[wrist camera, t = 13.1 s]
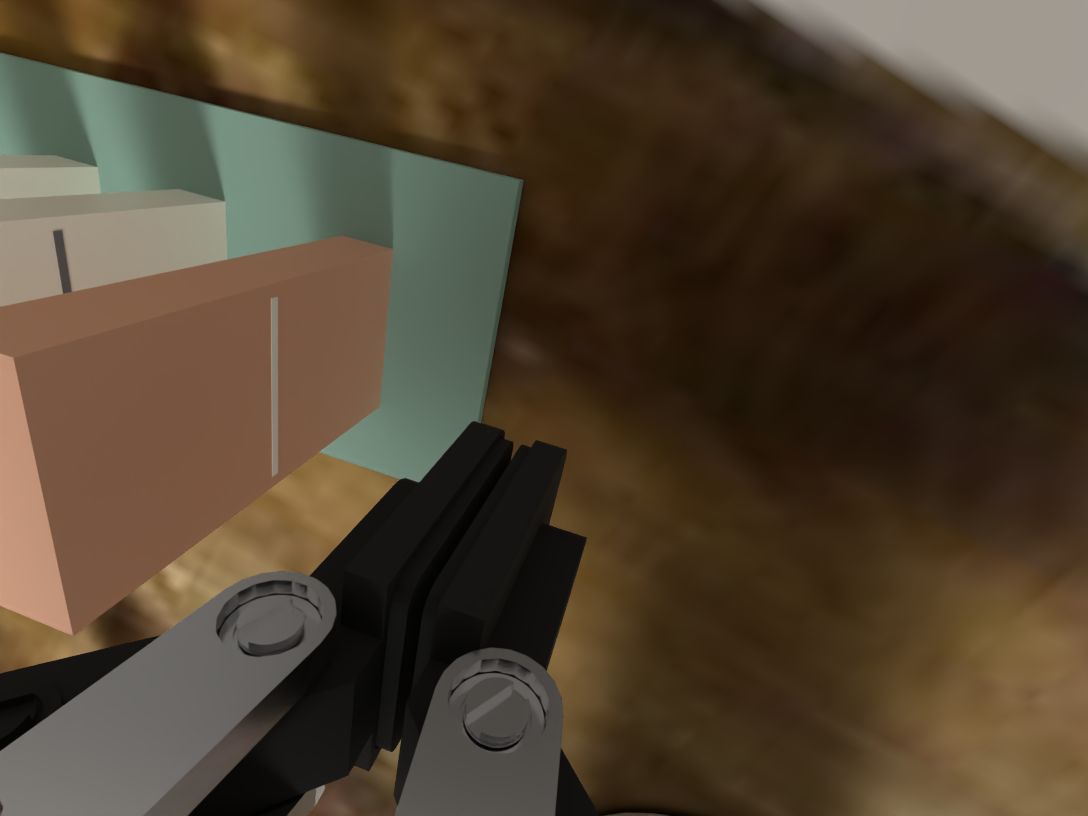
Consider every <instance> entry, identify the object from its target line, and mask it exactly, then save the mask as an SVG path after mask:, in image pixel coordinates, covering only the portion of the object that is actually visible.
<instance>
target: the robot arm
mask: <svg viewBox="0 0 1088 816" xmlns="http://www.w3.org/2000/svg"><path fill="white" fill-rule="evenodd" d="M504 437H505V432H504V430H502V429H498V428H495V427H492V426H489V425H485V424H482V423H479V422H476V421H472V422H471V423H470V424H469V425H468V426H467V428H466V429H465V430H464V431H463V432H462V433H461V435H460V436H459V437H458V438H457V439H456V440H455V441H454V443H453V444H452V445H451V446H450V447H449V448H448V450H447V451H446V452H445V453H444V454H443V455H442V457H441V458H440V459H439V460H438V461H437V462H436V464H435V465H434V466H433V467H432V468H431V469H430V470H429V472H428V473H427V474H426V475H425V476H424V477H423V479H422V480H421V481H420V482H416V481H413V480H410V479H407V478H403V479H400V480H399V481H398V482H397V483H396V484H395V485H394V486H393V487H392V488H391V489H390V490H389V491H388V492H387V493H386V494H385V495H384V496H383V498H382V499H381V500H380V501H379V502H378V503H377V504H376V505H375V506H374V507H373V508H372V509H371V510H370V512H369V513H368V514H367V515H366V516H365V517H364V518H363V519H362V520H361V521H360V522H359V523H358V524H357V526H356V527H355V528H354V529H353V530H352V531H351V532H350V533H349V534H348V535H347V536H346V537H345V538H344V540H343V541H342V542H341V543H340V544H339V545H338V546H337V547H336V548H335V549H334V550H333V551H332V552H331V554H330V555H329V556H328V557H327V558H326V559H325V560H324V561H323V562H322V563H321V564H320V565H319V566H318V567H317V569H316V570H315V571H314V572H313V573H312V574H311V575H310V576H307V575H305V574H302V573H296V572H286V571H278V572H269V573H261V574H258V575H255V576H252V577H249V578H245V579H242V580H241V581H239V582H237V583H235V584H234V585H232V586H230V587H228V588H226V589H225V590H223V591H222V592H221V593H219V594H218V595H216V596H215V597H214V598H212V599H211V600H209V601H208V602H207V603H205V604H204V605H203V606H201V607H200V608H198V609H197V610H196V611H194V612H193V613H191V614H190V615H189V616H187V617H186V618H184V619H183V620H182V621H180V622H179V623H178V624H176V625H175V626H173V627H172V628H171V629H169V630H168V631H166V632H165V633H164V634H162V635H160V636H156V637H151V638H147V639H143V640H139V641H135V642H131V643H126V644H122V645H118V646H114V647H110V648H105V649H101V650H97V651H93V652H89V653H84V654H80V655H76V656H72V657H68V658H63V659H59V660H55V661H51V662H47V663H42V664H38V665H34V666H30V667H26V668H21V669H17V670H13V671H9V672H5V673H1V674H0V816H307V815H308V814H309V813H310V811H311V810H312V809H313V808H314V806H315V805H316V803H317V801H318V800H319V798H320V796H321V795H322V793H323V791H324V790H325V786H326V784H328V783H330V782H333V781H335V780H338V779H340V778H343V777H345V776H348V775H349V773H350V771H351V769H352V768H353V766H354V765H355V766H357V767H360V768H362V769H364V770H367V771H369V770H370V769H371V767H372V765H373V763H374V761H375V759H376V758H377V756H378V754H379V752H380V750H381V748H383V749H385V750H388V751H390V752H393V751H394V750H395V748H396V747H397V745H398V743H399V742H400V740H401V745H400V753H399V760H398V767H397V775H396V782H395V789H394V797H395V800H396V803H397V806H398V807H397V810H396V813H395V816H599V814H598V812H597V811H596V809H595V807H594V805H593V804H592V802H591V800H590V798H589V796H588V795H587V793H586V791H585V789H584V788H583V786H582V784H581V782H580V781H579V779H578V777H577V775H576V774H575V772H574V770H573V768H572V767H571V765H570V763H569V761H568V759H567V758H566V756H565V754H564V752H563V751H562V749H561V739H562V727H563V707H562V698H561V695H560V693H559V691H558V688H557V686H556V683H555V681H554V680H553V679H552V677H551V676H550V675H549V674H548V673H547V668H548V665H549V661H550V658H551V655H552V652H553V649H554V645H555V642H556V639H557V636H558V633H559V629H560V626H561V623H562V620H563V616H564V613H565V610H566V607H567V603H568V600H569V597H570V593H571V590H572V587H573V583H574V580H575V577H576V573H577V570H578V567H579V563H580V560H581V556H582V553H583V550H584V546H585V543H586V539H587V538H586V537H583V536H580V535H577V534H574V533H571V532H568V531H565V530H562V529H559V528H556V527H553V526H550V525H549V522H550V518H551V514H552V510H553V507H554V503H555V499H556V495H557V491H558V487H559V483H560V479H561V475H562V471H563V467H564V463H565V459H566V454H567V450H566V449H563V448H560V447H557V446H553V445H550V444H547V443H544V442H540V441H537V440H536V441H535V442H534V444H533V445H532V447H528V446H525V445H521V446H520V447H519V449H518V451H517V452H516V454H515V455H514V457H513V459H512V460H511V456H512V451H513V442H512V441H509V440H506V439H504ZM510 461H511V462H510ZM603 816H670V815H663V814H656V813H618V814H611V815H603Z"/></svg>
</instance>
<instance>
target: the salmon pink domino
mask: <svg viewBox="0 0 1088 816" xmlns="http://www.w3.org/2000/svg"><path fill="white" fill-rule="evenodd" d="M392 259H393V249H390V248H387V247H383V246H379V245H375V244H372V243H368V242H364V241H361V240H357V239H353V238H350V237H346V236H337V237H333V238H328V239H323V240H318V241H314V242H309V243H304V244H299V245H294V246H290V247H285V248H280V249H275V250H270V251H266V252H261V253H256V254H251V255H246V256H242V257H237V258H232V259H227V260H222V261H218V262H213V263H208V264H203V265H199V266H194V267H189V268H184V269H179V270H175V271H170V272H165V273H160V274H155V275H151V276H146V277H141V278H136V279H131V280H127V281H122V282H117V283H112V284H108V285H103V286H98V287H93V288H88V289H84V290H79V291H74V292H69V293H64V294H60V295H55V296H50V297H45V298H40V299H36V300H31V301H26V302H21V303H16V304H12V305H7V306H2V307H0V606H2V607H5V608H7V609H10V610H12V611H14V612H17V613H19V614H22V615H24V616H26V617H29V618H31V619H34V620H36V621H38V622H41V623H43V624H46V625H48V626H50V627H53V628H55V629H58V630H60V631H62V632H65V633H67V634H70V635H72V636H74V635H75V634H76V633H78V632H79V631H80V630H82V629H83V628H84V627H86V626H87V625H88V624H90V623H91V622H92V621H94V620H95V619H97V618H98V617H99V616H101V615H102V614H103V613H105V612H106V611H107V610H109V609H110V608H111V607H113V606H114V605H115V604H117V603H118V602H119V601H121V600H122V599H123V598H125V597H126V596H127V595H129V594H130V593H131V592H133V591H134V590H135V589H137V588H138V587H139V586H141V585H142V584H143V583H145V582H146V581H147V580H149V579H150V578H151V577H153V576H154V575H155V574H157V573H158V572H159V571H161V570H162V569H163V568H165V567H166V566H167V565H169V564H170V563H171V562H173V561H174V560H175V559H177V558H178V557H179V556H181V555H182V554H183V553H185V552H186V551H187V550H189V549H190V548H191V547H193V546H194V545H195V544H197V543H198V542H199V541H201V540H202V539H203V538H205V537H206V536H207V535H209V534H210V533H211V532H213V531H214V530H215V529H217V528H218V527H219V526H221V525H222V524H223V523H225V522H226V521H228V520H229V519H230V518H232V517H233V516H234V515H236V514H237V513H238V512H240V511H241V510H242V509H244V508H245V507H246V506H248V505H249V504H250V503H252V502H253V501H254V500H256V499H257V498H258V497H260V496H261V495H262V494H264V493H265V492H266V491H268V490H269V489H270V488H272V487H273V486H274V485H276V484H277V483H278V482H280V481H281V480H282V479H284V478H285V477H286V476H288V475H289V474H290V473H292V472H293V471H294V470H296V469H297V468H298V467H300V466H301V465H302V464H304V463H305V462H306V461H308V460H309V459H310V458H312V457H313V456H314V455H316V454H317V453H318V452H320V451H321V450H322V449H324V448H325V447H326V446H328V445H329V444H330V443H332V442H333V441H334V440H336V439H337V438H338V437H340V436H341V435H342V434H344V433H345V432H346V431H348V430H349V429H350V428H352V427H353V426H354V425H356V424H357V423H359V422H360V421H361V420H363V419H364V418H365V417H367V416H368V415H369V414H371V413H372V412H373V411H375V410H376V409H377V408H379V407H380V399H381V387H382V376H383V364H384V352H385V341H386V329H387V317H388V305H389V294H390V282H391V270H392Z"/></svg>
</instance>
